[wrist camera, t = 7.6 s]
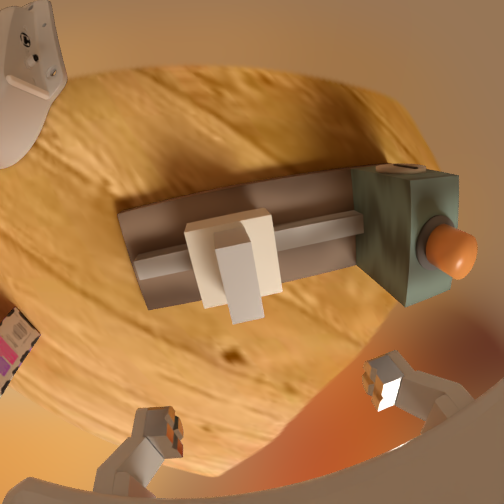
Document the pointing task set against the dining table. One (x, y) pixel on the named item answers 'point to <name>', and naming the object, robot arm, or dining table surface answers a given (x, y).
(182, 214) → the rail base
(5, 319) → the candy box
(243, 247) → the carriage
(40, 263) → the dining table surface
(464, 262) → the button
